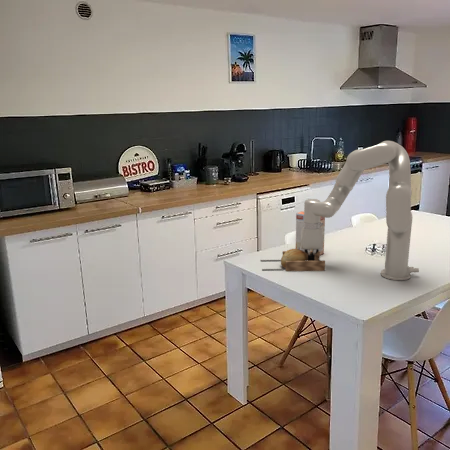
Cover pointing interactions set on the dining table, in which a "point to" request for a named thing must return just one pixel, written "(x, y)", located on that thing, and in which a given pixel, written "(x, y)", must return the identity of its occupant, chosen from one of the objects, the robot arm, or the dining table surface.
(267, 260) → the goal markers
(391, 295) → the dining table surface
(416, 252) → the dining table surface
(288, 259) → the bread roll
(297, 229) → the cracker box
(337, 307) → the dining table surface
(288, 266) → the channel
